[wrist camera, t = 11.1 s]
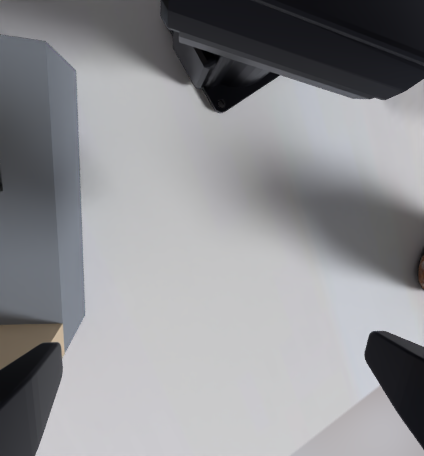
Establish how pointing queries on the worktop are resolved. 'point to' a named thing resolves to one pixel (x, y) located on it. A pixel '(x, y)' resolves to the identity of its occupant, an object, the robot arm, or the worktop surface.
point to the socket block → (38, 199)
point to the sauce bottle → (421, 272)
